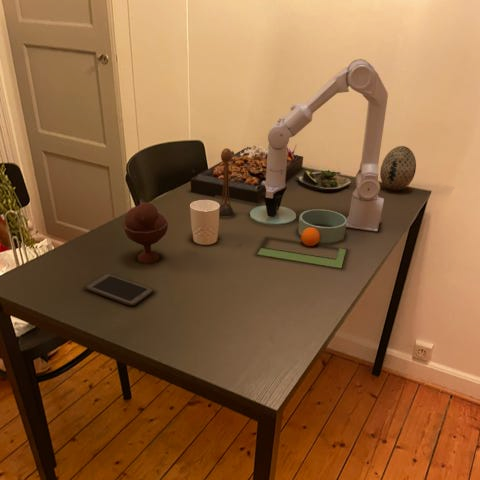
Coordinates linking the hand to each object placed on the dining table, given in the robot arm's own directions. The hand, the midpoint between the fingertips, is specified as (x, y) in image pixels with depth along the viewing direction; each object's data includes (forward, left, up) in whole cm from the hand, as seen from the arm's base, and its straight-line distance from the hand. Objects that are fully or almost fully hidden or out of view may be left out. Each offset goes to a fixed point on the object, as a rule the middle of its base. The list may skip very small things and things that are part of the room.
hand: (273, 213), depth 144 cm
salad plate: (-10, -36, -2) cm, 37 cm away
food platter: (+16, -32, -2) cm, 36 cm away
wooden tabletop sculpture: (+14, +3, -2) cm, 14 cm away
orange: (-14, +16, +1) cm, 21 cm away
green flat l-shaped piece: (-13, +20, -1) cm, 24 cm away
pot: (-16, +7, -1) cm, 18 cm away
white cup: (+14, +22, -2) cm, 26 cm away
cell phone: (+23, +54, -2) cm, 59 cm away
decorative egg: (-35, -40, -2) cm, 53 cm away
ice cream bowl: (+24, +37, -2) cm, 44 cm away
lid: (0, 0, -1) cm, 1 cm away
